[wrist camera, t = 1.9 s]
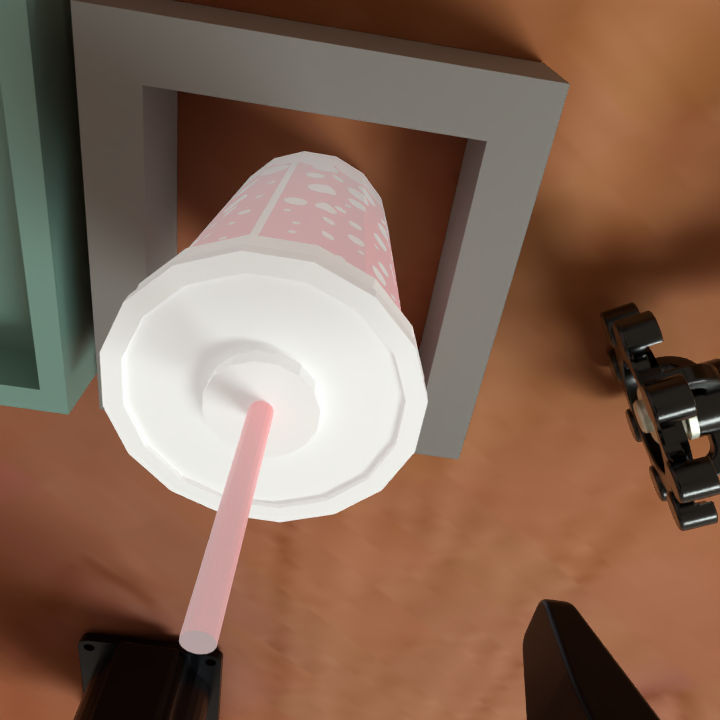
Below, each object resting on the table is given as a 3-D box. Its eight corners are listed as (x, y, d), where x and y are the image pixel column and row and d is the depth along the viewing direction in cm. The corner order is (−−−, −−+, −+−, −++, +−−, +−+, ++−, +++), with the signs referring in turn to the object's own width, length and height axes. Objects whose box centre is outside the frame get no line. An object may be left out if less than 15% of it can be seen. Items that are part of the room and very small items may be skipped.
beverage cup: (224, 320, 22) (30, 768, 10) (192, 126, 19) (-150, 451, 7) (413, 317, 22) (441, 776, 10) (413, 119, 18) (457, 446, 7)
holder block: (451, 402, 23) (458, 459, 21) (132, 356, 23) (100, 408, 20) (543, 62, 17) (569, 83, 15) (118, -10, 17) (70, 0, 14)
